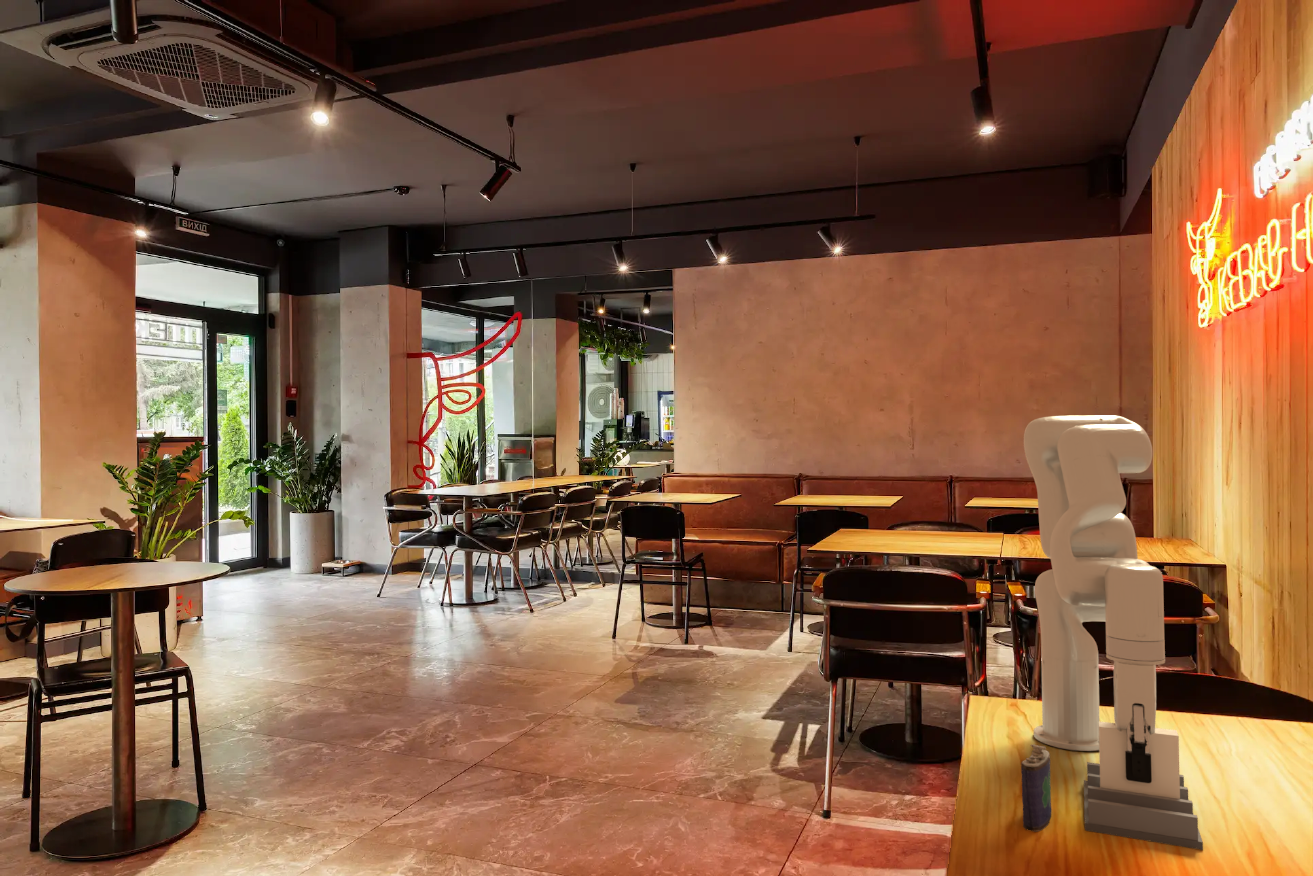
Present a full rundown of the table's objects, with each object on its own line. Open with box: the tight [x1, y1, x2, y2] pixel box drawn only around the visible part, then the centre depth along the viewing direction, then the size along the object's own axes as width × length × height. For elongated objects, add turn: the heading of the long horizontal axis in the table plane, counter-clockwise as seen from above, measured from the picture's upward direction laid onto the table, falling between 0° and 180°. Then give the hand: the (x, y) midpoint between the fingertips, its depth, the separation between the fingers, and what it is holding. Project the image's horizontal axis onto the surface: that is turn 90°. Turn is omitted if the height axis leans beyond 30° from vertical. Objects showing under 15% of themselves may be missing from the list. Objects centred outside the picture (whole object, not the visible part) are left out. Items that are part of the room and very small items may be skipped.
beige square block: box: [1098, 720, 1181, 799], centre depth 125 cm, size 3×10×10 cm, turn 64°
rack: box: [1083, 761, 1204, 851], centre depth 125 cm, size 18×14×4 cm
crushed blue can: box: [1020, 743, 1053, 832], centre depth 123 cm, size 9×3×11 cm, turn 144°
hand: (1137, 775), depth 125 cm, fingers closed on beige square block, 3 cm apart
